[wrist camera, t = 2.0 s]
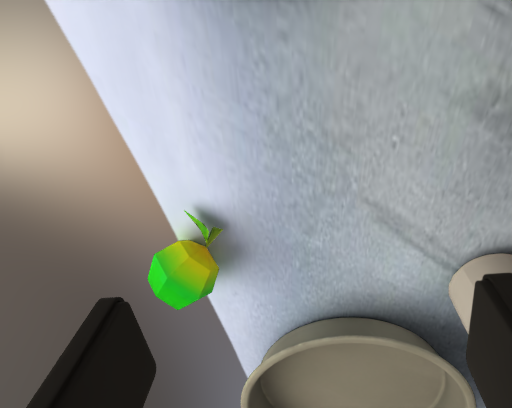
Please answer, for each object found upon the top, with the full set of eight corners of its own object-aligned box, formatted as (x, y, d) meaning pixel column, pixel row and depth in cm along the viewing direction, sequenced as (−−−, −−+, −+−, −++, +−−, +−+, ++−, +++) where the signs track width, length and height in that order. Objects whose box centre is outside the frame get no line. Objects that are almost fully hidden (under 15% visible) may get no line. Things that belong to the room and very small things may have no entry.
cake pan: (492, 315, 37) (515, 353, 33) (429, 448, 49) (440, 487, 45) (246, 294, 39) (240, 328, 35) (244, 427, 51) (240, 463, 47)
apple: (195, 305, 39) (249, 241, 38) (183, 337, 33) (247, 261, 32) (140, 264, 38) (194, 197, 37) (117, 288, 32) (181, 209, 31)
